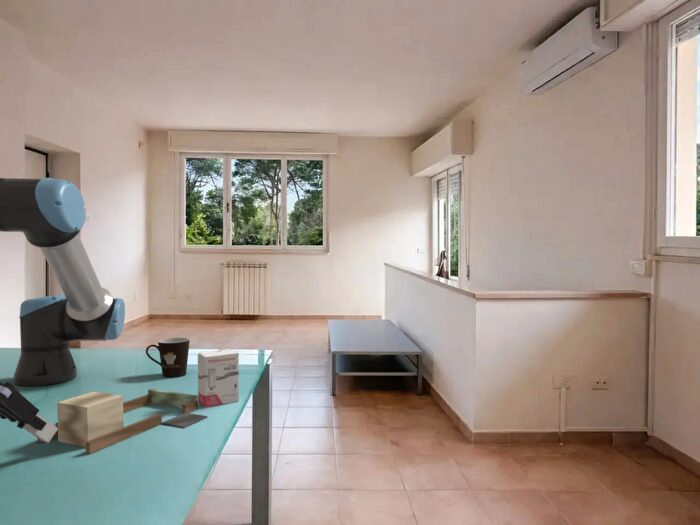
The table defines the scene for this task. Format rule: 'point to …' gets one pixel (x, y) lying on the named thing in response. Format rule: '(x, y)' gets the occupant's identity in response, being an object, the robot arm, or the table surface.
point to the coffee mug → (172, 356)
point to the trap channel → (156, 397)
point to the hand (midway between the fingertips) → (50, 434)
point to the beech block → (89, 417)
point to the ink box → (218, 377)
